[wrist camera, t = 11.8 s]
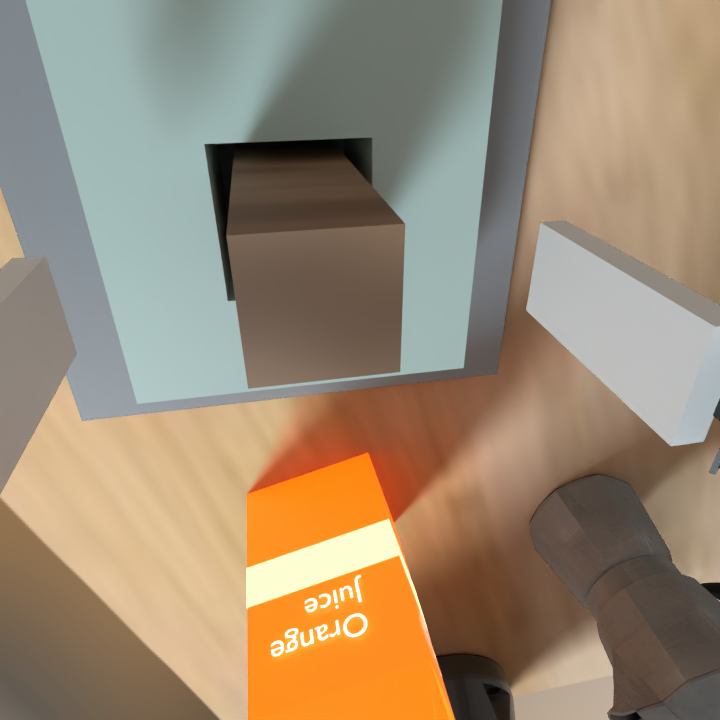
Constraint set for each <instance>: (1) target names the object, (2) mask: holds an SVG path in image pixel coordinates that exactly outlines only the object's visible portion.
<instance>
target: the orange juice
mask: <svg viewBox="0 0 720 720" xmlns="http://www.w3.org/2000/svg"><path fill="white" fill-rule="evenodd" d="M246 605H247V609H248V720H455V718H454V714H453V711H452V708H451V705H450V702H449V698H448V695H447V692H446V689H445V686H444V682H443V679H442V676H441V675H442V674H441V672H440V669H439V666H438V663H437V660H436V657H435V653H434V650H433V647H432V646H433V645H432V644H431V641H430V636H429V633H428V631H427V630H428V629H427V625H426V622H425V619H424V616H423V613H422V609H421V606H420V603H419V600H418V597H417V593H416V590H415V588H414V585H413V582H412V579H411V576H410V573H409V570H408V567H407V563H406V560H405V557H404V554H403V551H402V547H401V544H400V541H399V538H398V534H397V531H396V528H395V525H394V522H393V519H392V516H391V514H390V511H389V508H388V505H387V503H386V500H385V497H384V494H383V492H382V489H381V486H380V484H379V481H378V478H377V475H376V473H375V470H374V467H373V464H372V462H371V459H370V456H369V453H365V454H362V455H360V456H357V457H354V458H351V459H348V460H345V461H342V462H339V463H336V464H333V465H331V466H328V467H325V468H322V469H319V470H316V471H313V472H310V473H307V474H304V475H301V476H299V477H296V478H293V479H290V480H287V481H284V482H281V483H278V484H275V485H272V486H270V487H267V488H264V489H261V490H258V491H255V492H252V493H249V494H247V568H246Z"/></svg>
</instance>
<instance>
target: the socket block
mask: <svg viewBox="0 0 720 720" xmlns="http://www.w3.org/2000/svg"><path fill="white" fill-rule="evenodd" d="M550 5H551V0H0V187H1V190H2V193H3V196H4V198H5V201H6V204H7V207H8V210H9V213H10V216H11V218H12V221H13V224H14V227H15V230H16V233H17V236H18V239H19V241H20V244H21V247H22V250H23V253H24V256H25V258H27V257H41V256H46V259H47V262H48V265H49V268H50V271H51V274H52V277H53V280H54V283H55V286H56V289H57V293H58V296H59V299H60V302H61V305H62V308H63V311H64V314H65V317H66V320H67V323H68V326H69V329H70V332H71V336H72V339H73V342H74V345H75V348H76V351H77V354H76V356H75V358H74V360H73V362H72V363H71V365H70V367H69V369H68V371H67V373H66V376H67V379H68V382H69V385H70V388H71V390H72V393H73V396H74V399H75V402H76V405H77V408H78V411H79V413H80V416H81V419H82V421H86V420H94V419H103V418H112V417H121V416H130V415H139V414H147V413H156V412H165V411H174V410H183V409H192V408H200V407H209V406H218V405H227V404H236V403H245V402H253V401H262V400H271V399H280V398H289V397H297V396H306V395H315V394H324V393H333V392H342V391H350V390H359V389H368V388H377V387H386V386H395V385H403V384H412V383H421V382H430V381H439V380H448V379H456V378H465V377H474V376H483V375H492V374H497V370H498V363H499V356H500V350H501V343H502V336H503V329H504V322H505V315H506V308H507V301H508V294H509V288H510V281H511V274H512V267H513V260H514V253H515V246H516V239H517V232H518V226H519V219H520V212H521V205H522V198H523V191H524V184H525V177H526V170H527V164H528V157H529V150H530V143H531V136H532V129H533V122H534V115H535V108H536V102H537V95H538V88H539V81H540V74H541V67H542V60H543V53H544V46H545V40H546V33H547V26H548V19H549V12H550ZM321 139H330V140H331V141H332V142H333V143H334V144H335V145H336V146H337V147H338V149H339V150H340V151H341V152H342V153H343V154H344V155H345V156H346V158H347V159H348V160H349V161H350V162H351V163H352V164H353V165H354V167H355V168H356V169H357V170H358V171H359V172H360V173H361V174H362V176H363V177H364V178H365V179H366V180H367V181H368V182H369V183H370V185H371V186H372V187H373V188H374V189H375V190H376V191H377V192H378V194H379V195H380V196H381V197H382V198H383V199H384V200H385V201H386V203H387V204H388V205H389V206H390V207H391V208H392V209H393V210H394V212H395V213H396V214H397V215H398V216H399V217H400V218H401V219H402V221H403V222H404V223H405V248H404V278H403V307H402V336H401V366H400V372H396V373H387V374H378V375H369V376H360V377H351V378H342V379H333V380H323V381H314V382H305V383H296V384H287V385H278V386H269V387H260V388H250V389H248V384H247V377H246V370H245V363H244V356H243V349H242V342H241V335H240V328H239V321H238V314H237V307H236V300H235V293H234V286H233V279H232V272H231V265H230V258H229V251H228V244H227V237H226V233H227V222H228V212H229V201H230V190H231V179H232V168H233V157H234V147H235V143H246V142H271V141H296V140H321Z"/></svg>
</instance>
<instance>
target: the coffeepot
mask: <svg viewBox="0 0 720 720" xmlns="http://www.w3.org/2000/svg"><path fill="white" fill-rule="evenodd" d="M530 529H531V535H532V537H533V541H534V545H535V549H536V551H537V552H538V553H539V554H540V555H541V557H542V558H543V559H544V560H545V561H546V563H547V564H548V565H549V566H550V567H551V569H552V570H553V571H554V572H555V573H556V574H557V576H558V577H559V578H560V579H561V580H562V582H563V583H564V584H565V585H566V586H567V588H568V589H569V590H570V591H571V592H572V594H573V595H574V596H575V597H576V598H577V600H578V601H579V602H580V603H581V604H582V605H583V607H585V608H588V609H589V610H590V611H591V613H592V615H593V616H594V618H595V619H596V621H597V628H598V633H599V637H600V639H601V642H602V644H603V646H604V649H605V651H606V653H607V656H608V658H609V660H610V662H611V665H612V667H613V679H614V703H613V707H612V708H611V709H610V710H609V712H608V713H607V714H608V717H609V719H610V720H720V602H719V601H718V600H717V599H719V600H720V583H703V584H700V583H699V582H698V581H697V580H695V579H694V578H691V577H688V576H685V575H682V574H681V573H680V572H679V570H678V569H677V568H676V567H675V565H674V564H673V563H672V558H671V554H670V551H669V549H668V547H667V546H666V544H665V542H664V541H663V539H662V537H661V536H660V534H659V532H658V530H657V529H656V527H655V525H654V524H653V522H652V520H651V519H650V517H649V515H648V513H647V512H646V510H645V508H644V507H643V505H642V503H641V502H640V500H639V498H638V497H637V495H636V493H635V491H634V490H633V488H632V486H631V485H630V484H628V483H625V482H623V481H620V480H618V479H616V478H614V477H610V476H605V475H594V476H588V477H583V478H580V479H577V480H574V481H572V482H570V483H567V484H565V485H564V486H562V487H560V488H559V489H557V490H555V491H554V492H553V493H552V494H550V495H549V496H548V497H547V498H546V499H545V500H544V501H543V502H542V503H541V504H540V506H539V507H538V509H537V510H536V511H535V514H534V516H533V518H532V520H531V521H530ZM716 598H717V599H716Z"/></svg>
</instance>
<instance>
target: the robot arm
mask: <svg viewBox="0 0 720 720" xmlns="http://www.w3.org/2000/svg"><path fill="white" fill-rule="evenodd" d="M526 311H527V312H528V313H529V314H530V315H532V316H533V317H534V318H535V319H536V320H537V321H538V322H539V323H540V324H541V325H542V326H543V327H544V328H545V329H546V330H548V331H549V332H550V333H551V334H552V335H553V336H554V337H555V338H556V339H557V340H558V341H559V342H560V343H561V344H562V345H563V346H565V347H566V348H567V349H568V350H569V351H570V352H571V353H572V354H573V355H574V356H575V357H576V358H577V359H578V360H579V361H580V362H582V363H583V364H584V365H585V366H586V367H587V368H588V369H589V370H590V371H591V372H592V373H593V374H594V375H595V376H596V377H597V378H599V379H600V380H601V381H602V382H603V383H604V384H605V385H606V386H607V387H608V388H609V389H610V390H611V391H612V392H613V393H615V394H616V395H617V396H618V397H619V398H620V399H621V400H622V401H623V402H624V403H625V404H626V405H627V406H628V407H629V408H630V409H632V410H633V411H634V412H635V413H636V414H637V415H638V416H639V417H640V418H641V419H642V420H643V421H644V422H645V423H646V424H647V425H649V426H650V427H651V428H652V429H653V430H654V431H655V432H656V433H657V434H658V435H659V436H660V437H661V438H662V439H663V440H665V441H666V442H667V443H668V444H669V445H670V446H677V445H684V444H691V443H698V442H704V440H705V437H706V435H707V433H708V430H709V428H710V425H711V423H712V420H713V418H714V417H715V418H717V419H718V420H719V421H720V305H719V304H717V303H715V302H713V301H711V300H710V299H708V298H706V297H704V296H702V295H700V294H699V293H697V292H695V291H693V290H691V289H689V288H688V287H686V286H684V285H682V284H680V283H678V282H677V281H675V280H673V279H671V278H669V277H667V276H666V275H664V274H662V273H660V272H658V271H656V270H655V269H653V268H651V267H649V266H647V265H645V264H644V263H642V262H640V261H638V260H636V259H634V258H633V257H631V256H629V255H627V254H625V253H623V252H622V251H620V250H618V249H616V248H614V247H612V246H611V245H609V244H607V243H605V242H603V241H601V240H600V239H598V238H596V237H594V236H592V235H590V234H589V233H587V232H585V231H583V230H581V229H579V228H578V227H576V226H574V225H572V224H570V223H569V222H567V221H555V222H540V229H539V235H538V241H537V247H536V253H535V259H534V265H533V271H532V277H531V283H530V290H529V296H528V302H527V308H526ZM76 354H77V351H76V348H75V345H74V342H73V339H72V336H71V332H70V329H69V326H68V323H67V320H66V317H65V314H64V311H63V308H62V305H61V302H60V299H59V296H58V293H57V289H56V286H55V283H54V280H53V277H52V274H51V271H50V268H49V265H48V262H47V259H46V256H41V257H27V258H12V259H11V260H10V261H9V262H8V263H7V264H6V265H4V266H3V267H2V268H1V269H0V494H1V492H2V490H3V488H4V487H5V485H6V483H7V481H8V479H9V477H10V476H11V474H12V472H13V470H14V468H15V466H16V465H17V463H18V461H19V459H20V457H21V455H22V454H23V452H24V450H25V448H26V446H27V444H28V442H29V441H30V439H31V437H32V435H33V433H34V431H35V430H36V428H37V426H38V424H39V422H40V420H41V419H42V417H43V415H44V413H45V411H46V409H47V408H48V406H49V404H50V402H51V400H52V398H53V397H54V395H55V393H56V391H57V389H58V387H59V385H60V384H61V382H62V380H63V378H64V376H65V374H66V373H67V371H68V369H69V367H70V365H71V363H72V362H73V360H74V358H75V356H76ZM719 468H720V448H719V451H718V453H717V455H716V457H715V460H714V462H713V464H712V467H711V469H710V471H709V473H712V474H716V472H717V470H718V469H719ZM436 660H437V663H438V666H439V669H440V672H441V674H442V675H441V676H442V679H443V682H444V686H445V689H446V692H447V695H448V698H449V702H450V705H451V708H452V711H453V714H454V718H455V720H515V711H514V702H513V696H512V692H511V690H510V687H509V685H508V682H507V680H506V677H505V675H504V673H503V670H502V669H501V668H500V666H499V665H498V664H496V663H495V662H493V661H491V660H489V659H487V658H483V657H479V656H473V655H451V656H444V657H438V658H436Z"/></svg>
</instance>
